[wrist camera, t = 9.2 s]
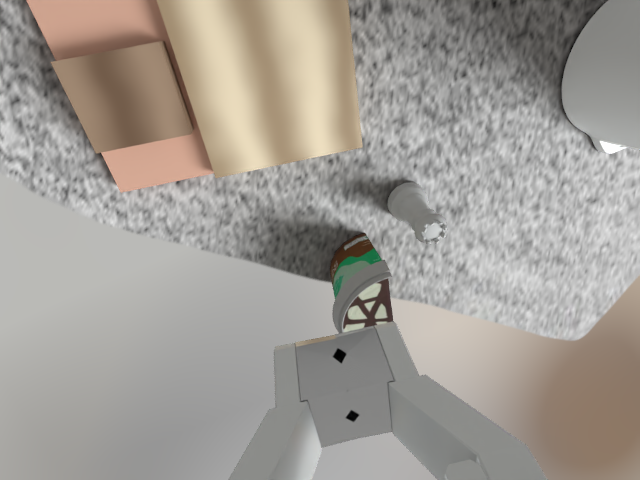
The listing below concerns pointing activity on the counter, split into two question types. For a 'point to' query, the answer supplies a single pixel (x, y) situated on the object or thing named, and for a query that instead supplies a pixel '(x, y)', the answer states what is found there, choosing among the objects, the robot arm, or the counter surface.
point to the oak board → (267, 78)
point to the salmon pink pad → (117, 33)
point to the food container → (360, 286)
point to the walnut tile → (126, 96)
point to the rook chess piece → (417, 212)
